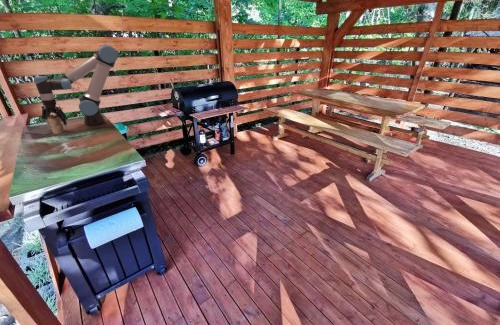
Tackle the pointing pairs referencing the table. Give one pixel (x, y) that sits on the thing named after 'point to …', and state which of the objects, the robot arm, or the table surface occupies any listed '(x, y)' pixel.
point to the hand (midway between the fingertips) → (58, 128)
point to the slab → (56, 124)
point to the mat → (40, 131)
